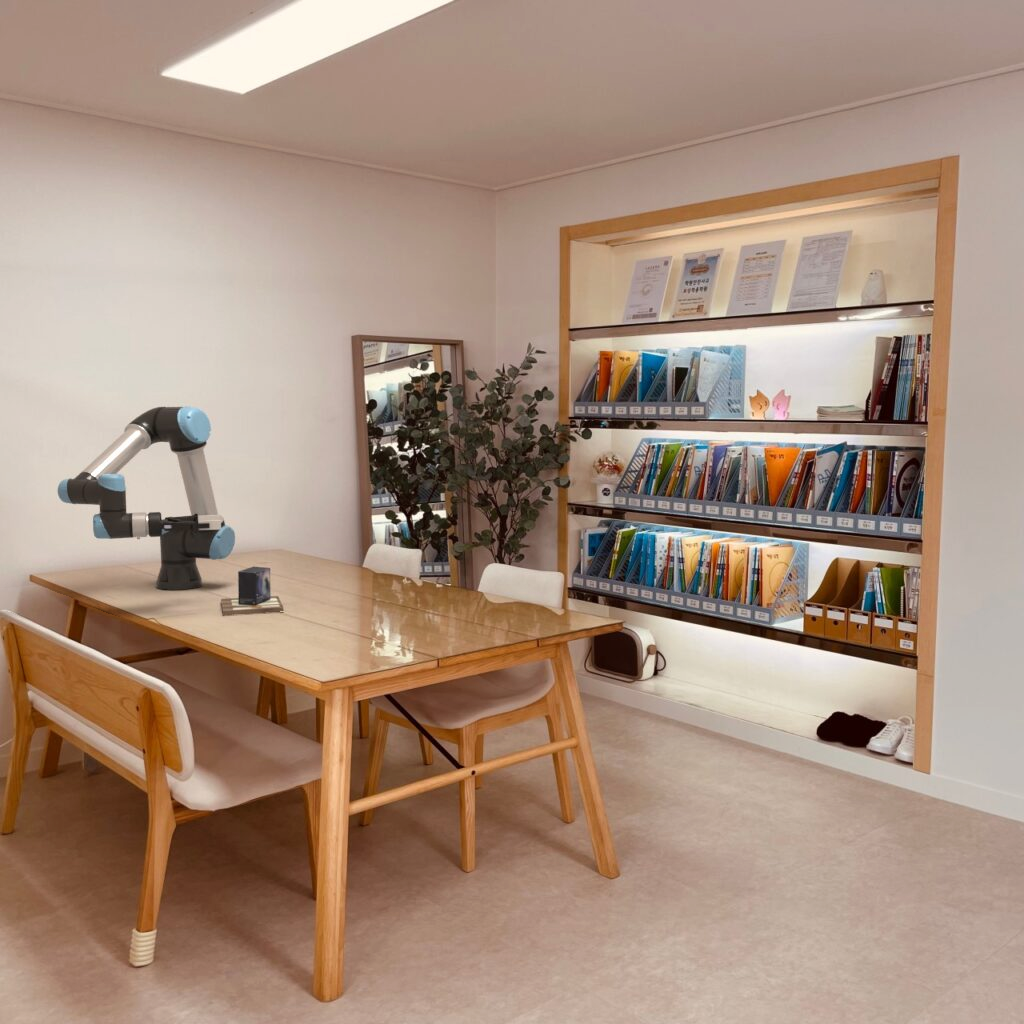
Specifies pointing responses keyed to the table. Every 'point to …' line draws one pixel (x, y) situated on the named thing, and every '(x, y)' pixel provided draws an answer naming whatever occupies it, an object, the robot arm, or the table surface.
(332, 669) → the table surface
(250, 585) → the small box
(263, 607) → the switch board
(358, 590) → the table surface
